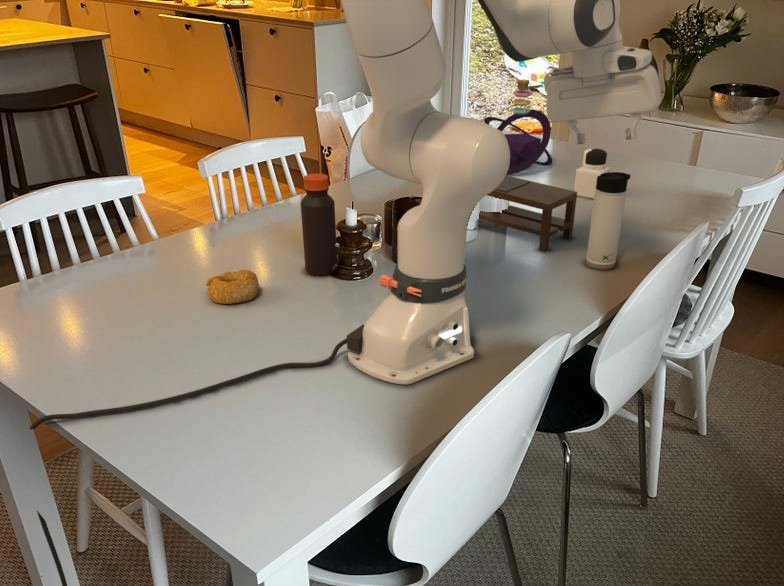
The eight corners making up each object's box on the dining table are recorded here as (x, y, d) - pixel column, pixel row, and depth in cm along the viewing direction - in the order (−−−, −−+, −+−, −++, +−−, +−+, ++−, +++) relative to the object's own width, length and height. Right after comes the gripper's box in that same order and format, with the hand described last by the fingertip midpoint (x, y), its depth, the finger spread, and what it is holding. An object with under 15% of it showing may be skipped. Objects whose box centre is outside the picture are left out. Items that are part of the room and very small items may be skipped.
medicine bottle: (607, 193, 204) (613, 149, 198) (597, 200, 199) (603, 155, 193) (582, 188, 208) (587, 145, 202) (572, 195, 202) (577, 151, 196)
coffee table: (544, 252, 167) (549, 203, 162) (466, 229, 179) (468, 183, 174) (571, 237, 175) (577, 190, 169) (495, 216, 187) (497, 172, 182)
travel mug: (610, 272, 157) (625, 179, 147) (581, 265, 160) (593, 174, 150) (620, 263, 162) (634, 171, 152) (591, 256, 165) (603, 166, 155)
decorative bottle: (466, 165, 227) (469, 78, 215) (512, 153, 239) (518, 71, 227) (521, 181, 213) (528, 90, 200) (567, 168, 225) (577, 81, 212)
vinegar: (344, 270, 158) (340, 176, 148) (319, 279, 153) (313, 184, 143) (323, 261, 162) (317, 169, 152) (298, 270, 157) (291, 176, 147)
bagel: (239, 279, 153) (236, 258, 151) (270, 296, 146) (268, 274, 144) (196, 294, 147) (192, 271, 145) (226, 312, 140) (223, 289, 138)
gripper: (536, 73, 134) (546, 150, 140) (652, 56, 124) (657, 140, 130) (548, 67, 139) (557, 142, 145) (660, 50, 128) (665, 131, 134)
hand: (605, 141), depth 137 cm, fingers open, 8 cm apart
